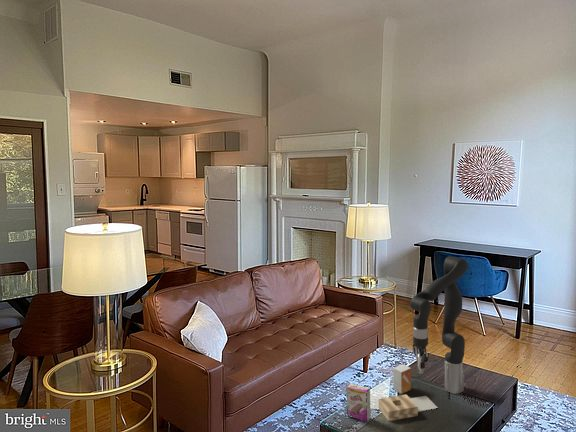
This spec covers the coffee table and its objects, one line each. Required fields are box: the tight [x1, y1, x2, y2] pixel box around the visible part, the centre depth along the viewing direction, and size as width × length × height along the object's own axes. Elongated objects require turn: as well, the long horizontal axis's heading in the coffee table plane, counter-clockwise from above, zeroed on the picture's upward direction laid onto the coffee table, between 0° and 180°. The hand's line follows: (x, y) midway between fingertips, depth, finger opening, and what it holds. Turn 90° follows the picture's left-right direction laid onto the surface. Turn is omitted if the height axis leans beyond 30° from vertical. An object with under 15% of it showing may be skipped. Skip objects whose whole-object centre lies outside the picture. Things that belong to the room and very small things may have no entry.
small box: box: [392, 363, 412, 395], centre depth 244 cm, size 8×6×13 cm
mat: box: [409, 395, 439, 413], centre depth 229 cm, size 12×12×1 cm
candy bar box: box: [346, 382, 371, 423], centre depth 219 cm, size 11×5×16 cm, turn 59°
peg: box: [417, 354, 425, 375], centre depth 226 cm, size 3×3×10 cm
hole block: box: [378, 394, 419, 422], centre depth 223 cm, size 16×12×5 cm
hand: (420, 366), depth 227 cm, fingers closed on peg, 3 cm apart
